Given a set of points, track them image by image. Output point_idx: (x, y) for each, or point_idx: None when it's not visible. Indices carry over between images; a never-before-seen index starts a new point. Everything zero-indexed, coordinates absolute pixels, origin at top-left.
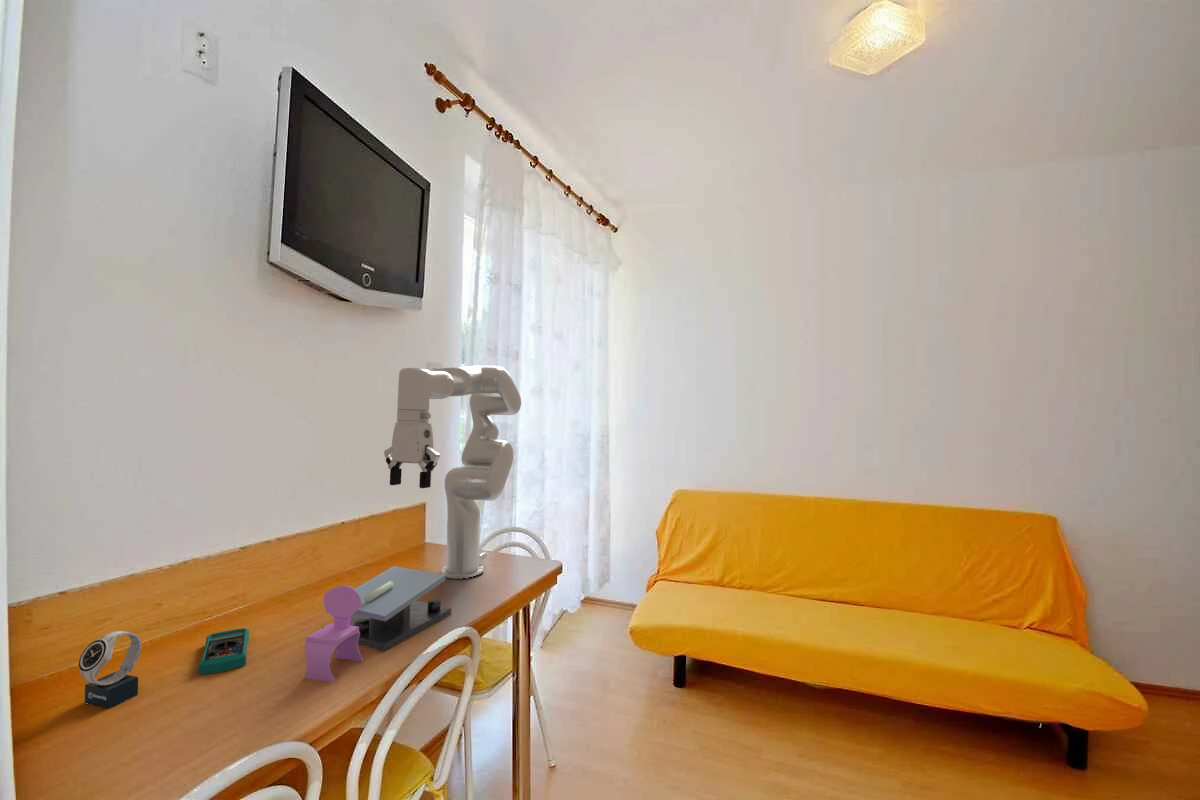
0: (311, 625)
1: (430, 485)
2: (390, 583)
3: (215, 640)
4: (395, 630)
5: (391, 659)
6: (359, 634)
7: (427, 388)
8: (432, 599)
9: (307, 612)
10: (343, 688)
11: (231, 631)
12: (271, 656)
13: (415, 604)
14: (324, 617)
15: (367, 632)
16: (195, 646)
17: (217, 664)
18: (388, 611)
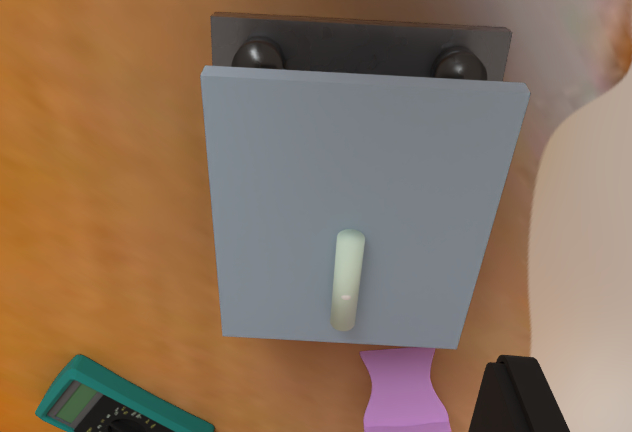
0: (144, 258)
1: (537, 363)
2: (359, 253)
3: (81, 426)
4: None
5: (495, 322)
6: (446, 412)
7: None
8: (443, 67)
9: (39, 199)
10: None
11: (60, 394)
12: (224, 390)
13: (355, 57)
14: (122, 207)
15: None
16: (31, 409)
17: None
18: (451, 332)
